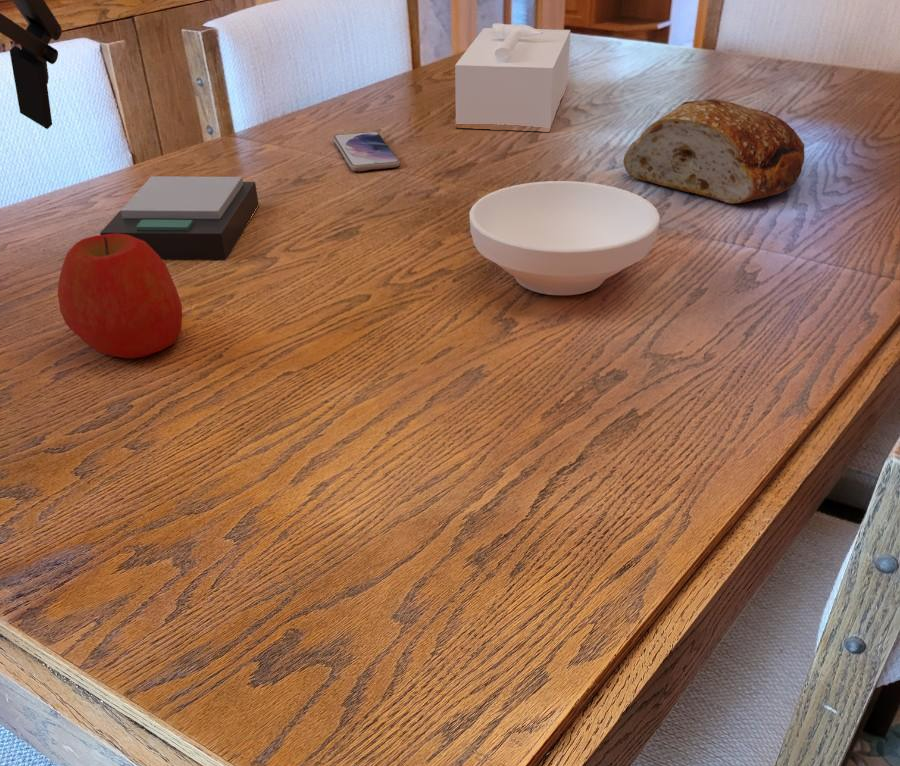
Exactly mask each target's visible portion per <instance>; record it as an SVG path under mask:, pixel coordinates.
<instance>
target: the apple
mask: <svg viewBox="0 0 900 766" xmlns="http://www.w3.org/2000/svg"><path fill="white" fill-rule="evenodd" d="M57 283H58V284H57V299H58V304H59V311H60V315H61V316H62V319H63V321H64V323H65V325H66V326H67V327H68V328H69V329H70V331H72V332H73V333H74V334H75V335H76V336H77V337H78V338H80V340H82V341H83V342H84V343H85V344H86V345H88V346H89V347H90V348H92V349H93V350H94V351H96V352H98V353H100V354H105V355H107V356H111V357H114V358H115V357H117V358H123V359H137V358H138V359H139V358H145V357H147V356H151V355H152V354H155V353H158V352H161V351H163V350H164V349H166V348H168V347H170V346H172V345H174V343H175V342H176V340H177V339H178V338H179V337H180V336H179V335H180V333H181V331H182V323H183V305H182V302H181V298H180V296H179V292H178V289H177V287H176V285H175V282H174V281H173V278H172V276H171V274H170V271H169V269H168V267H167V265H166V263H165V262H164V261H163V259H161V258H160V256H159V255H158V254H157V253H156V252H155V251H154V250H153V249H152V248H151V247H150V246H149V245H148V244H147V243H146V242H145V241H142V240H140V239H137V238H135V237H132V236H130V235H126V234H119V233H115V234H105V235H101V234H100V235H93V236H89V237H85V238H82V239H80V240H79V241H77V242H75V243H74V244H73V246H72V247H71V248H70V249H69V250H68V251H67V252H66V255H65V258H64V261H63V263H62V266H61V270H60V273H59V278H58V282H57Z"/></svg>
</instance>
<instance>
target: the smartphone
mask: <svg viewBox="0 0 900 766" xmlns="http://www.w3.org/2000/svg"><path fill="white" fill-rule="evenodd" d="M332 140H333V141H334V144H335V145H336V146H337V148H338V150H339V151H340V153H341V154H342V156H343V158H344V160H345V162H346V163H347V165H348V166H349V168H350V170H351V171H353V172H355V171H358V172H366V171H370V170H381V169H391V168H392V169H393V168H399V166H401V161H400V159H399V158H398V156H397V155H396V154H395V153H394V151H393V150H392V149H391V147H390V145H388V143H387V142H386V141H385V140H384V138H383V137H382V135H381V134H380V133H379V132H378V131H369V132H367V131H366V132H357V133H356V132H354V133H342V134H335V135H333V136H332Z"/></svg>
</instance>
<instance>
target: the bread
mask: <svg viewBox="0 0 900 766" xmlns="http://www.w3.org/2000/svg"><path fill="white" fill-rule="evenodd" d="M805 147H806V146H805V143H804V142H803V140H802V139H801V137H800V136H799V135H798V133H797V132H796V131H795V130H794V128H792V126H790V124H788V123H787V122H786V121H784V120H783V119H781V118H780V117H778V116H776V115H774V114H771V113H770V112H767V111H763V110H760V109H756V108H751V107H747V106H744V105H741V104H738V103H736V102H735V103H734V102H730V101H726V100H723V99H717V98H708V99H700V100H691V101H684V102H682V103H681V104H680V105H678V106H677V107H676V108H674V109H673V110H671V111H670V112H668V113H667V114H665V115H664V116H662V117H661V118H659V119H658V120H656V121H654V122H652V123H651V124H650V125H649V126H647V127H646V128H645V129H644V131H642V132H641V134H640V136H639V137H638V138H637V139H636V140H635V141H634V142H632V143H631V144H630V145H629V146H628V149H626V151H625V154H624V156H623V167H624V169H625V172H626V174H627V175H628V176H629V177H631V178H634V179H637V180H639V179H640V180H639V181H643V182H646V181H648V182H647V183H650V182H651V183H650V184H654V183H655V184H654V185H658V186H663V187H666V188H667V187H668V188H671V189H675V190H679V191H683V192H687V193H690V192H691V193H690V194H694V193H695V194H694V195H698V194H699V195H698V196H702V195H703V196H702V197H705V196H706V198H709V197H711V198H710V199H712V198H714V199H713V200H715V199H717V200H716V201H718V200H721V201H723V202H722V203H727V204H741V203H748V202H751V201H755V200H760V199H764V198H768V197H771V196H775V195H779V194H782V193H783V192H784V193H785V191H787V190H789V189H790V188H792V187H793V186H794V185H795V184H796V183H797V181H798V180H799V177H800V175H801V173H802V170H803V166H804V162H805ZM721 201H720V202H721Z"/></svg>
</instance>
